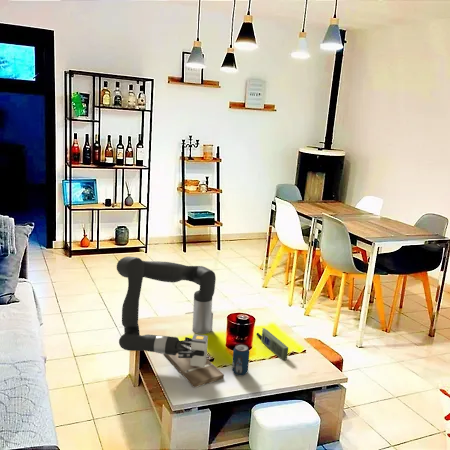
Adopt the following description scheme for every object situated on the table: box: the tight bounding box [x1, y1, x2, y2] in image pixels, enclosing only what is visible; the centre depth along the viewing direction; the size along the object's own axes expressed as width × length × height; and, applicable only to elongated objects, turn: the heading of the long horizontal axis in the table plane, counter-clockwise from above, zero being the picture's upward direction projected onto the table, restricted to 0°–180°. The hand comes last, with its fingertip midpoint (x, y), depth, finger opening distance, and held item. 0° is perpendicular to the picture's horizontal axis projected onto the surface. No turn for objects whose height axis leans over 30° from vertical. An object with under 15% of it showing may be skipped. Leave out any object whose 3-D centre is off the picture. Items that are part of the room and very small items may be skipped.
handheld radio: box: [256, 327, 289, 362], centre depth 225 cm, size 7×3×25 cm
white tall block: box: [190, 333, 209, 367], centre depth 199 cm, size 5×6×12 cm
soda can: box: [231, 343, 250, 377], centre depth 202 cm, size 7×7×12 cm
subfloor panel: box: [163, 353, 225, 388], centre depth 206 cm, size 14×30×2 cm, turn 32°
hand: (205, 350), depth 199 cm, fingers closed on white tall block, 5 cm apart
